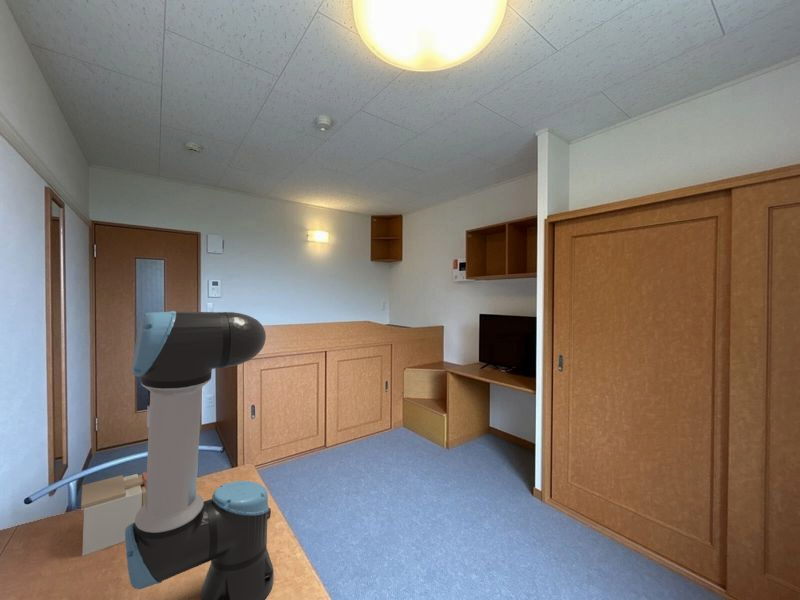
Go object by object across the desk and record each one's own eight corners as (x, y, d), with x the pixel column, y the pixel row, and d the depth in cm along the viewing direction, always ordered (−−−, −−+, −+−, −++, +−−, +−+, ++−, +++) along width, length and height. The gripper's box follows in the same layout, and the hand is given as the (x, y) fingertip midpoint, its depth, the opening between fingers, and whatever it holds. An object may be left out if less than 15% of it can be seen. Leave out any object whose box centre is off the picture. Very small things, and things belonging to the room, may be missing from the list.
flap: (166, 486, 100) (167, 479, 100) (80, 510, 87) (81, 503, 87) (160, 469, 109) (160, 463, 109) (82, 489, 97) (82, 482, 97)
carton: (145, 534, 96) (146, 491, 96) (82, 556, 87) (84, 508, 87) (140, 511, 106) (141, 472, 106) (83, 528, 97) (85, 486, 98)
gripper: (179, 367, 97) (177, 441, 96) (165, 356, 115) (163, 418, 115) (146, 370, 92) (144, 448, 91) (137, 358, 110) (135, 423, 110)
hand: (154, 432), depth 103 cm, fingers open, 13 cm apart
